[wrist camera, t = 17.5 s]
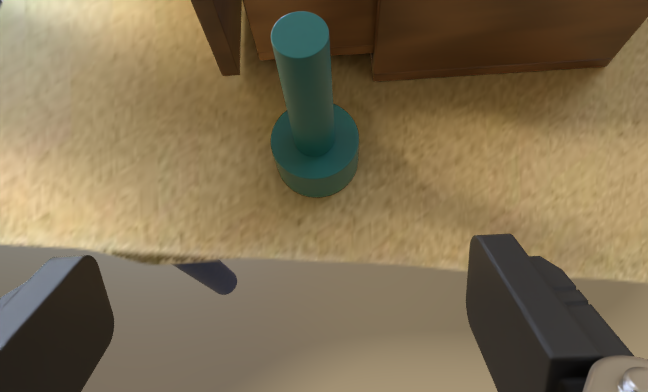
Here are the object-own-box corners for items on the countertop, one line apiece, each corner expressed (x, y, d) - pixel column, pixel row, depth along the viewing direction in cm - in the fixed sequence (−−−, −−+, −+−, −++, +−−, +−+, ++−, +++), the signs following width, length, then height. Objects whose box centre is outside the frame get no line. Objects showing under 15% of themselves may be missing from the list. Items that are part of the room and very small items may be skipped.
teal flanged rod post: (277, 200, 29) (235, 92, 18) (277, 127, 31) (237, -11, 20) (360, 195, 29) (368, 83, 18) (355, 122, 31) (359, -20, 20)
